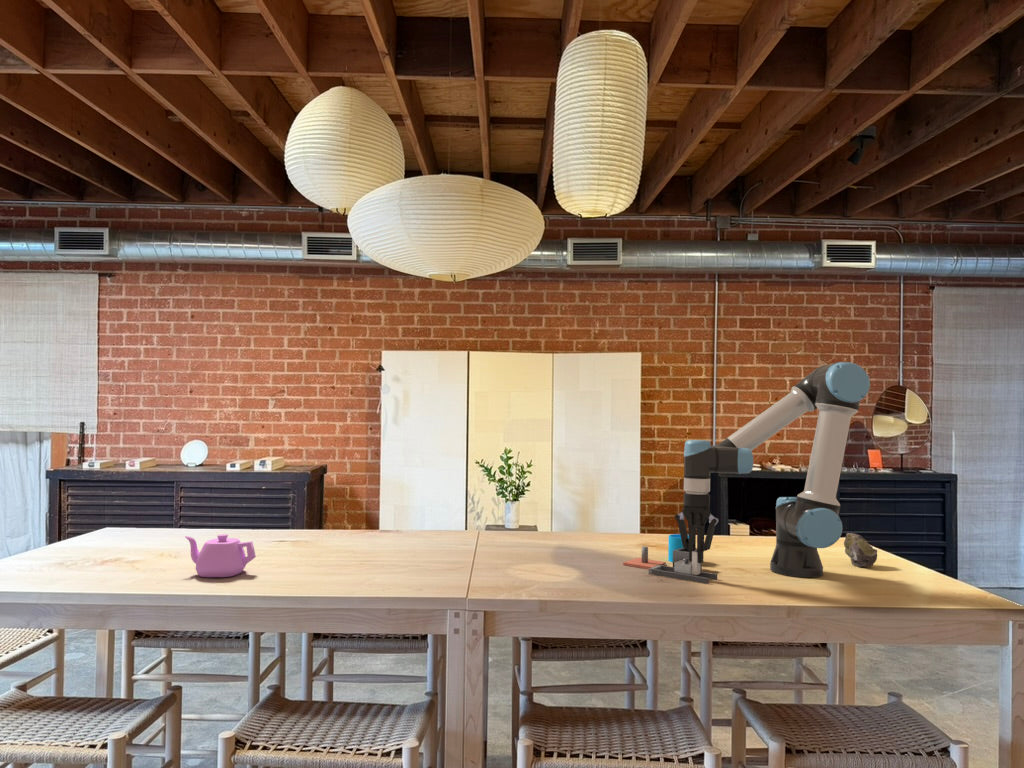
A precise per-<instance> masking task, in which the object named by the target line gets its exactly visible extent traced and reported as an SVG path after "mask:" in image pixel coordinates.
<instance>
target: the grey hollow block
mask: <svg viewBox="0 0 1024 768" xmlns="http://www.w3.org/2000/svg"><path fill="white" fill-rule="evenodd" d="M695 550H697V548H696V549H695ZM684 558H686V559H689V550H688V549H687V548H684V547H682V548H679V549H676V550H673V562H672V567H674V563H675V562H677V561H680V560H683V559H684ZM700 570H702V563H700Z"/></svg>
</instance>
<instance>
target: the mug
mask: <svg viewBox="0 0 1024 768" xmlns="http://www.w3.org/2000/svg"><path fill="white" fill-rule="evenodd" d="M688 538H689V534H688ZM667 542H668V551H667V552H668V555H667V557H668V558H667V559H668V561H669V562H670V563H673V550H676V549H679V548H682V547H683V545H682V540H681V535H680V533H673V534H669V535H668V541H667Z"/></svg>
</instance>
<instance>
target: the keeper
mask: <svg viewBox="0 0 1024 768" xmlns="http://www.w3.org/2000/svg"><path fill="white" fill-rule="evenodd" d="M622 565H623V566H627V567H633V568H640V569H644V570H649V569H650V568H652V567H655V566H658V565H664V566H667V562H666V561H661V560H656V559H655V560H654V559H649V547H648V546H641V557H635V558H633V559H630V560H627V561H624V562H623V563H622Z"/></svg>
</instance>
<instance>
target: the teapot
mask: <svg viewBox="0 0 1024 768" xmlns="http://www.w3.org/2000/svg"><path fill="white" fill-rule="evenodd" d="M216 536H217V538H213V539H208V540H207V541H205V542H204V543H203V545H202V547H201V550H200V551H199V549H198V546H197V541H196V540H195V538H193V537H192V536H187V535H186V536H184V538H186V540H188V542H189V544H190V558H191V560H192V562H193V563H194V564H195V572H196V573H197V574H198V576H199V577H202V578H228V577H234V576H237V575H239V574H241V573H242V572H243V571H244V569H245V568H246V566H247V564H249V563H250V562H252V561H253V560H254V559H255V558H256V557H257V554H256V552H255V547H254V542H253V541H245V542H241V540H240V539H239V538H230V537H228V534H225V533H224V534H218V535H216ZM245 547H246V553H247V554H246V553H245V550H244V548H245ZM246 555H247V556H246Z"/></svg>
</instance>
